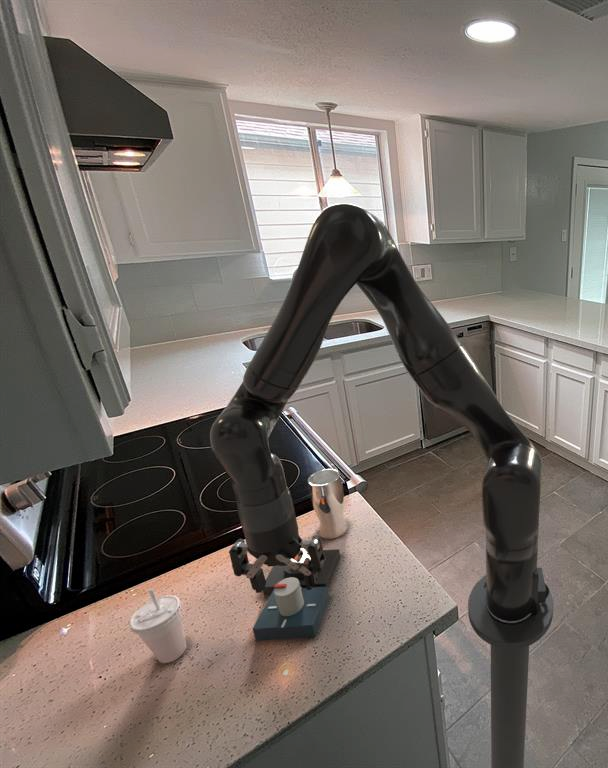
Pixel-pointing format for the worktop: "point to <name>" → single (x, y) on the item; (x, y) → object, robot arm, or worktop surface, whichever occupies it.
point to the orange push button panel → (285, 572)
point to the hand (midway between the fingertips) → (286, 587)
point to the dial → (289, 596)
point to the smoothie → (160, 627)
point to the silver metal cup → (328, 502)
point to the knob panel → (292, 617)
